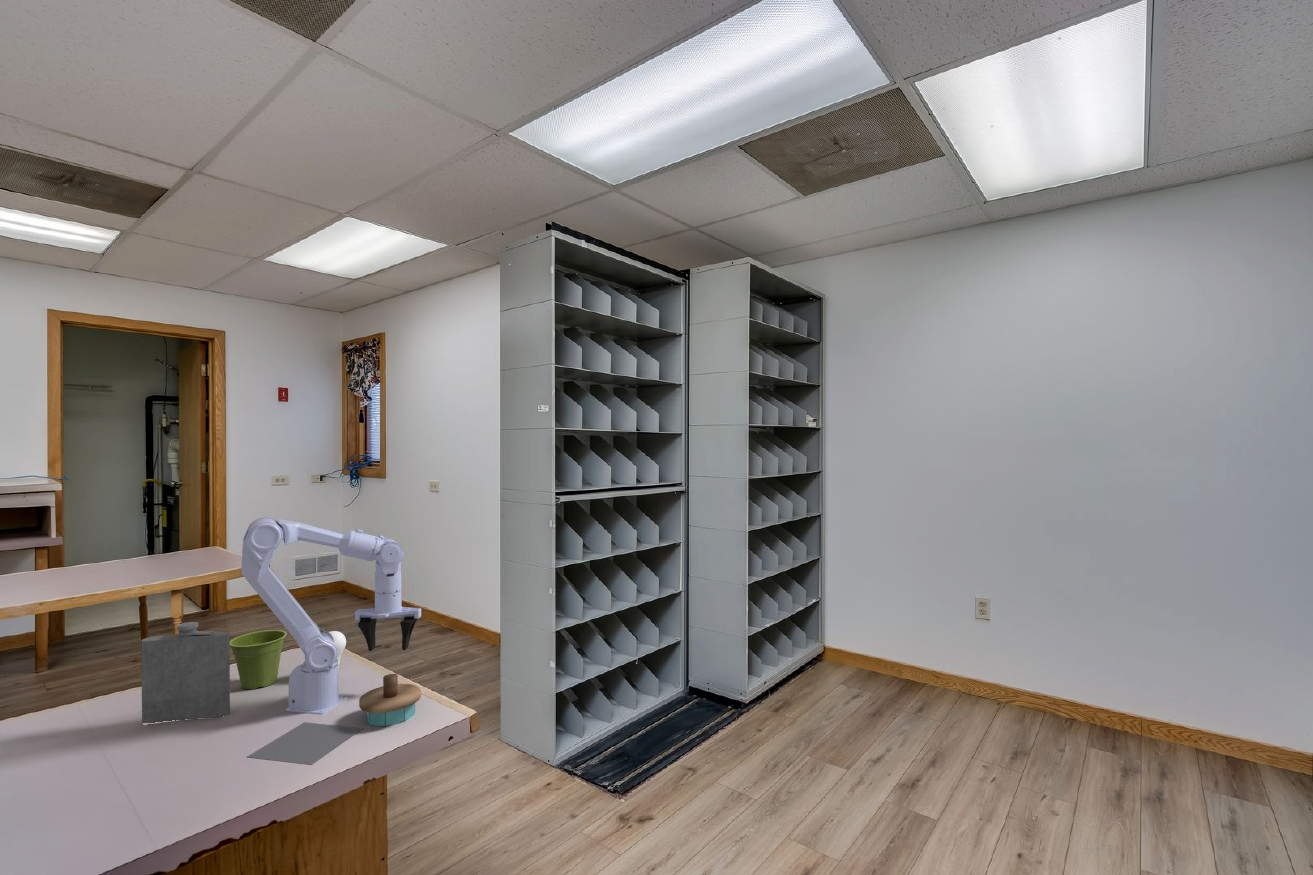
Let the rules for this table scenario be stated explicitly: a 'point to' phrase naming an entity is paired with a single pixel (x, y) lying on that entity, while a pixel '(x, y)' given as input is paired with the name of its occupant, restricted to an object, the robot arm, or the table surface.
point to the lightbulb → (339, 643)
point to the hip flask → (185, 675)
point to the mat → (306, 743)
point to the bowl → (390, 716)
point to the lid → (389, 696)
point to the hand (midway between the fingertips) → (388, 648)
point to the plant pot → (258, 657)
